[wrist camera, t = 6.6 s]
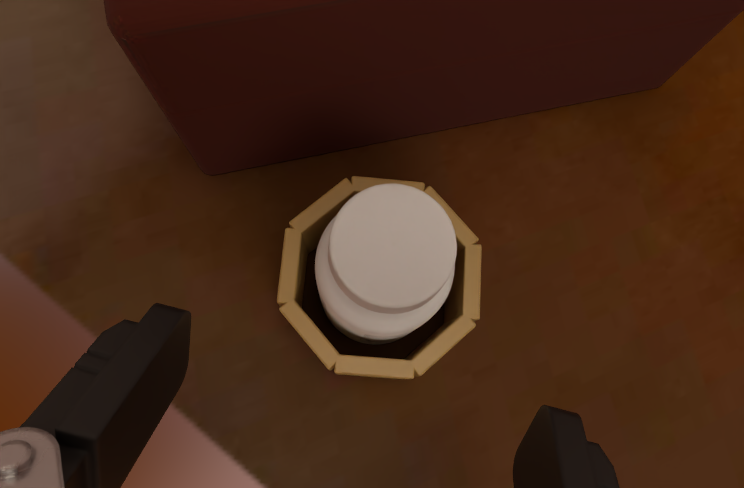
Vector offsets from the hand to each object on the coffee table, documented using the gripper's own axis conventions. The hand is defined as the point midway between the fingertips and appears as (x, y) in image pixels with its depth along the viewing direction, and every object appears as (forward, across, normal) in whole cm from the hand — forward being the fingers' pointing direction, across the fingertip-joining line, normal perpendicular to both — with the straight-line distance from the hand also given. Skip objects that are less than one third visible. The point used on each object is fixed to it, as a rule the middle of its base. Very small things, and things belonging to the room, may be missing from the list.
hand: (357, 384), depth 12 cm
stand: (+9, 0, +4) cm, 10 cm away
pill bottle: (+9, 0, +4) cm, 10 cm away
